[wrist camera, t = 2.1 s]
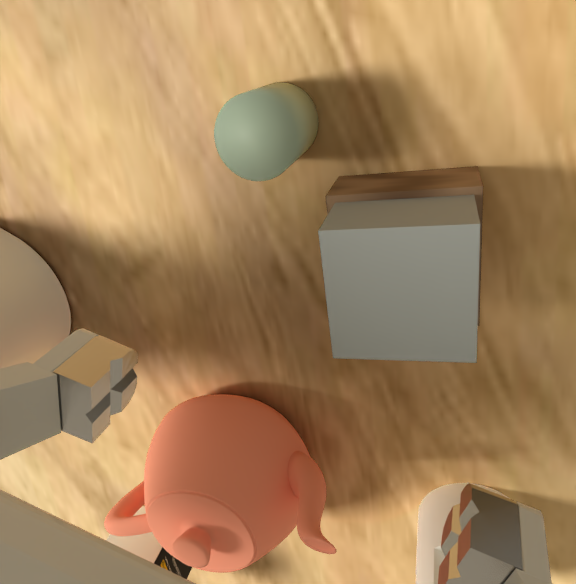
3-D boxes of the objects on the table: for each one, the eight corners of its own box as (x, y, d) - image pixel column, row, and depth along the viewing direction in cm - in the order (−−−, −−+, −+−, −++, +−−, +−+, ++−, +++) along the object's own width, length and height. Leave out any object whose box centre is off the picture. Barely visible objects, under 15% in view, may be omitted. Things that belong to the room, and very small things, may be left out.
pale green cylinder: (253, 162, 36) (223, 184, 31) (241, 87, 34) (206, 97, 29) (322, 156, 35) (302, 178, 30) (313, 77, 33) (290, 86, 27)
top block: (346, 317, 34) (333, 358, 30) (335, 202, 31) (318, 230, 27) (471, 318, 32) (476, 362, 28) (474, 194, 29) (480, 223, 24)
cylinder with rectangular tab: (401, 525, 49) (391, 658, 38) (448, 467, 44) (451, 601, 34) (488, 567, 48) (502, 713, 38) (545, 513, 44) (578, 663, 33)
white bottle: (200, 552, 59) (149, 663, 49) (146, 545, 61) (87, 650, 51) (184, 508, 56) (127, 616, 46) (129, 502, 58) (62, 604, 48)
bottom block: (350, 291, 39) (339, 324, 35) (339, 175, 35) (325, 195, 31) (474, 290, 36) (479, 325, 32) (477, 165, 33) (483, 185, 28)
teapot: (335, 362, 42) (301, 474, 32) (382, 495, 48) (365, 629, 37) (125, 392, 50) (41, 489, 40) (185, 503, 56) (125, 614, 45)
